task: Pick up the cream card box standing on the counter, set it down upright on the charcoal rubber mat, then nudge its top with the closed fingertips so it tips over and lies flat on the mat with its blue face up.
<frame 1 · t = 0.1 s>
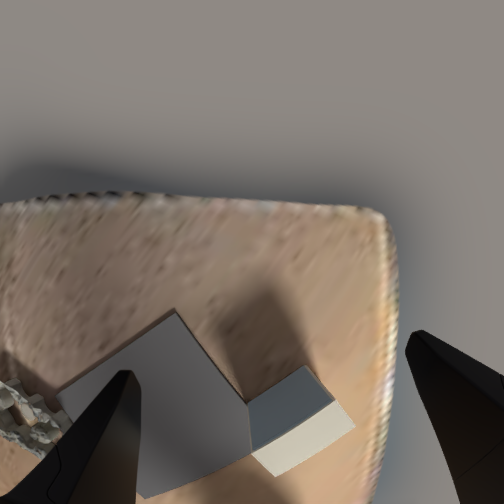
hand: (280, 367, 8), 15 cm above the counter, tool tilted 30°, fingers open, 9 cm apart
mat: (155, 423, 22), on the counter
card box: (284, 395, 23), on the counter
egg carton: (41, 416, 21), on the counter
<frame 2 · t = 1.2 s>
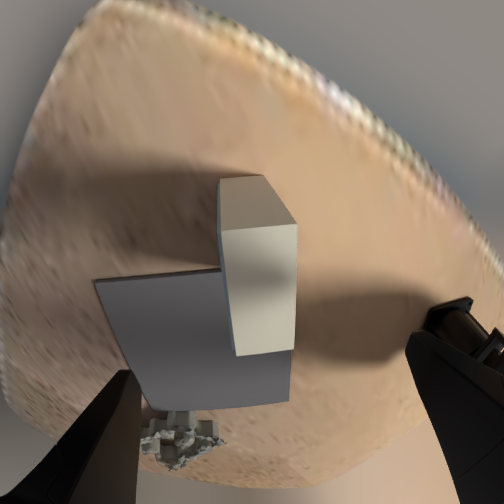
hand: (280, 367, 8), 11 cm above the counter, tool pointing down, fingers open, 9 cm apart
mat: (206, 354, 23), on the counter
card box: (245, 223, 18), on the counter
egg carton: (174, 426, 29), on the counter
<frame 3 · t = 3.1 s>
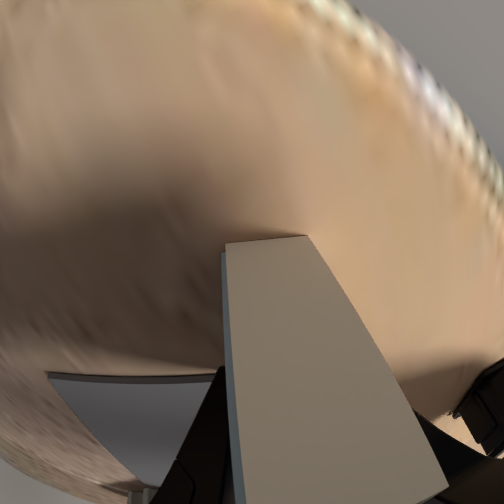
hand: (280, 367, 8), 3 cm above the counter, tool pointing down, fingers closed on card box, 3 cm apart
mat: (208, 450, 15), on the counter
card box: (270, 315, 11), on the counter, touching gripper
egg carton: (172, 492, 21), on the counter
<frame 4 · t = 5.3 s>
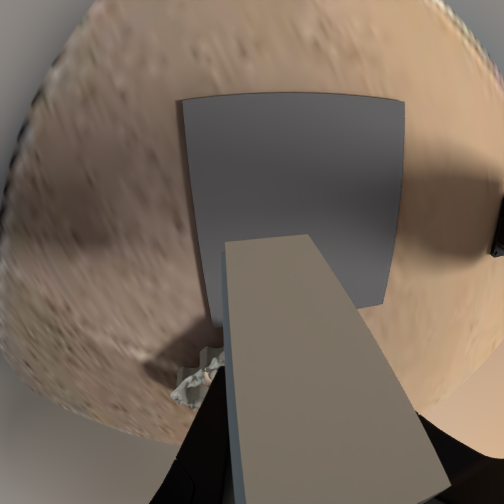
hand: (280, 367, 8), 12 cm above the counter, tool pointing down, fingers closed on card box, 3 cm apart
mat: (305, 217, 19), on the counter
card box: (270, 314, 10), point 9 cm above the counter, touching gripper
egg carton: (231, 361, 25), on the counter
when the fingers open (3 cm above the counter, at t = 7.3 s): card box stays where it is, resting on mat.
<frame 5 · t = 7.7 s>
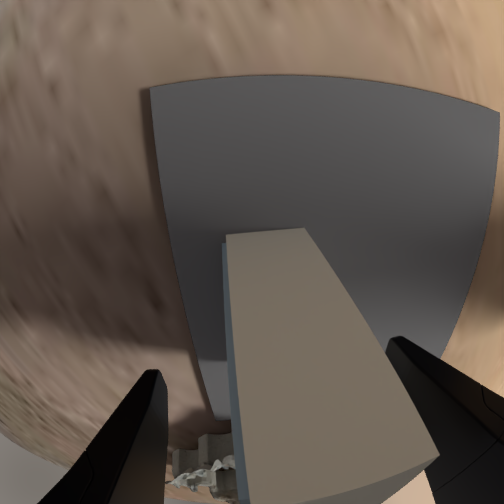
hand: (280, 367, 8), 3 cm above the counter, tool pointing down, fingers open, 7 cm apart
mat: (358, 287, 12), on the counter
card box: (268, 304, 11), resting on mat
egg carton: (239, 442, 18), on the counter
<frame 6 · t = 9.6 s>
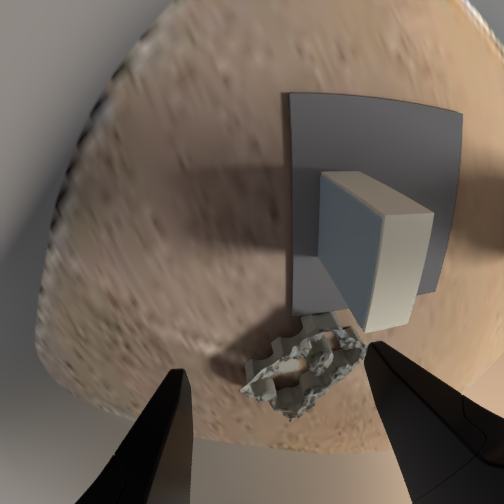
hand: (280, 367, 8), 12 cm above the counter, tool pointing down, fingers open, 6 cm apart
mat: (384, 211, 20), on the counter
card box: (338, 215, 19), resting on mat
egg carton: (298, 350, 26), on the counter
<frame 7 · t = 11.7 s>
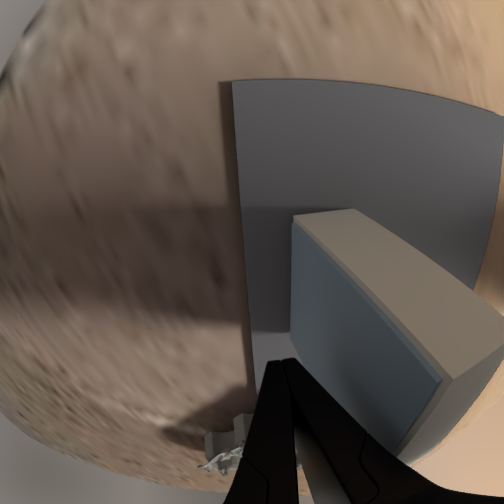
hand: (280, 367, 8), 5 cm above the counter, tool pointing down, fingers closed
mat: (391, 263, 13), on the counter
card box: (321, 279, 12), point 1 cm above the counter, tilted 7°, touching mat
egg carton: (270, 422, 19), on the counter
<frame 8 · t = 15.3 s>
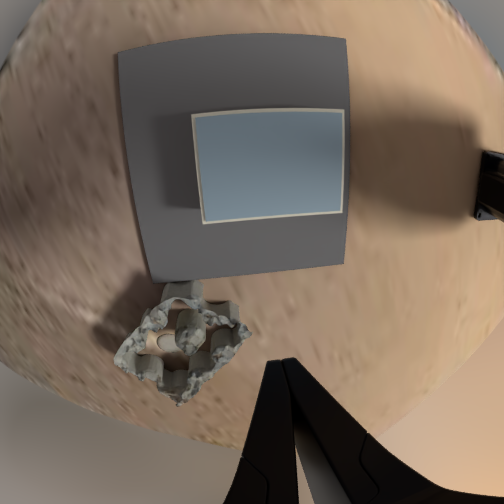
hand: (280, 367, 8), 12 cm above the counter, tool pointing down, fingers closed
mat: (241, 158, 18), on the counter
card box: (198, 166, 16), point 2 cm above the counter, tilted 90°, touching mat
egg carton: (178, 327, 24), on the counter
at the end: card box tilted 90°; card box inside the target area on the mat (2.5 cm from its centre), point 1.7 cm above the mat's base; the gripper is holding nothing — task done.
